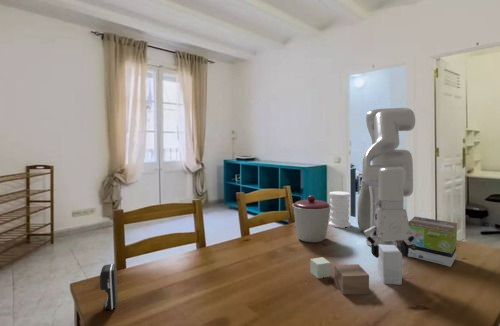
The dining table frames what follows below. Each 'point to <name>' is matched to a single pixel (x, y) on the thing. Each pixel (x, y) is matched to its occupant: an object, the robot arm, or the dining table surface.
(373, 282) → the dining table surface
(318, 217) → the canister
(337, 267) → the walnut block
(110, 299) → the battery charger
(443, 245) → the tea box
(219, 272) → the dining table surface
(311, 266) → the sage block
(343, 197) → the decorative container
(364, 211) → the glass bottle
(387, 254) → the small box
